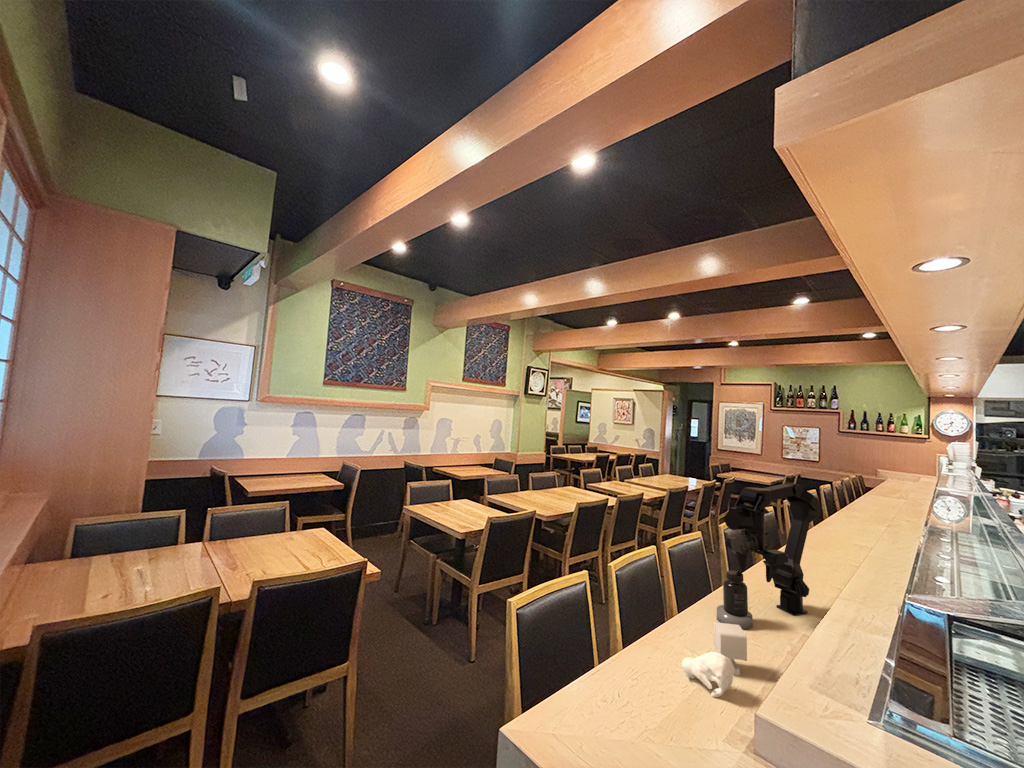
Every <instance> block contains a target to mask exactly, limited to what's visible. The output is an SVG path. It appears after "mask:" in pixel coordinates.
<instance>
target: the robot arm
mask: <svg viewBox="0 0 1024 768" xmlns="http://www.w3.org/2000/svg"><path fill="white" fill-rule="evenodd" d="M783 499H785V500H786V501H787V502H788V503H789V507H788V508H789V511H790V514H791V516H792V519H791V523H790V528H789V532H788V536H787V539H786V544H785V547H784V550H783V551H782V550H778V549H770V550H769V549H768V548H769V545H768V544H767V543H766V536H768V535H769V533H768V531H766V528H765V527H766V525H765V523H766V520H765V515H767V514H769V513H770V512H769V510H768V509H767V507H769V506H770V505H771V503H772V502H775V501H779V500H783ZM821 507H822V505H821V502H820V501H819V499H818V498H817V497H816V496H815V495H814V494H812V493H811V492H809V491H807V490H806V489H804V487H803V486H802V485H801V484H798V483H793V482H787V481H786V482H783V483H780V484H776V485H772V486H771V485H770V486H767V487H763V488H762V487H747V486H746V487H743V488H742V491H741V492H740V494H739V496H738V498H737V499H736V502H735V503H734V506H733V507H729V511H727V512H726V513H725V515H724V523H725V525H726V527H727V528H728V529H730V530H731V531H737V530H741V533H740V535H737V536H732V537H731V536H729V537H727V538H726V539H725V540H724V541H725V543H724V544H725V545H724V546H725V547H726V548H728V550H729V551H731V552H732V553H733V554H734V555H735V558H736V562H737V563H738V565H739V566H738V567H739V568H740V572H741V573H744V572H745V571H746V566H747V558H748V553H749V552H750V553H755V554H757V555H758V554H759V555H761V556H762V557H763V559H764V560H762V562H763V564H764V566H765V581H766V582H767V583H770V582H771V581H773V582H772V583H773V584H774V588H776V589H778V590H780V592H779V593H780V595H779V604H776V606H775V607H776V608H777V609H780V610H782V611H784V612H786V613H788V614H791V615H793V616H797V615H803V614H808V610H805V609H804V600H803V599H804V598H807V597H808V596H809V595H810V594H809V593H810V588H809V586H808V585H807V584H806V583H805V581H804V571H803V569H802V566H801V561H802V557H803V552H804V549H805V544H806V541H807V540H806V539H807V535H808V532H809V527H810V523H812V522H813V521H814V520H815V519H816V518H817V517H818V515H819V513H820V510H821ZM767 549H768V550H767Z"/></svg>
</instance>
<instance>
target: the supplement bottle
mask: <svg viewBox="0 0 1024 768" xmlns="http://www.w3.org/2000/svg"><path fill="white" fill-rule="evenodd" d="M725 575H726V576H725V578H726V579H724V580H723V583H722V590H723V591H722V594H723V595H722V597H723V598H722V599H723V602H722V603H723V605H724V610H725V612H727V613H728V614H730V615H733V616H738V617H744V616H747V614H748V611H749V605H748V604H749V603H748V600H749V599H748V597H749V596H748V586H747V584H746V583H745V582H744V579H745V578H744V574H743V572H741V571H736V570H727V571H726V574H725Z"/></svg>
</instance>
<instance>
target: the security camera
mask: <svg viewBox="0 0 1024 768" xmlns="http://www.w3.org/2000/svg"><path fill="white" fill-rule="evenodd" d="M747 641H748V638H747V635H746V633H745V630H742V628H741V627H740V625H736V624H727V623H720V622H719V621H717V622H716V621H714V622H713V646H714V649H715V652H717V653H720V654H722V655H724V656H726V657H727V658H729V659H730V660H731V662H732V664H733V667H734V670H735V671H734V674H733V676H737V677H738V676H741V669H740V668H739V667H738V664H737V663H736V661H735V660H740V661H745V662H747V661H748V644H747Z"/></svg>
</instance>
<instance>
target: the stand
mask: <svg viewBox="0 0 1024 768" xmlns="http://www.w3.org/2000/svg"><path fill="white" fill-rule="evenodd" d="M716 620H717V622H719V623H727V624H736V625H740V627H741V628H742V630H743V631H748V630H751V629H752V628H753V613H751V612H750V611H749V610H748V614H747V616H744V617H738V616H733V615H730V614H728V613H727V612H725V610H724V604H719V605H718V606H717V607H716Z"/></svg>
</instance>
